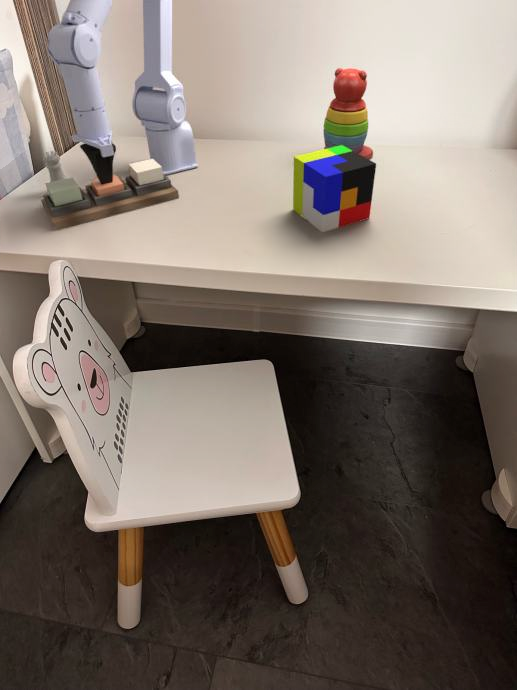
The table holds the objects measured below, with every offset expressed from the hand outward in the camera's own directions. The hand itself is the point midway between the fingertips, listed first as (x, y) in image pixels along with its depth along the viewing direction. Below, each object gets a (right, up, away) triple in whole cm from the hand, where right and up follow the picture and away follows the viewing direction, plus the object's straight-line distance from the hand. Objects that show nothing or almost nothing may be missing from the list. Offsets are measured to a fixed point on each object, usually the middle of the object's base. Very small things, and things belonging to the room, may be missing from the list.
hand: (106, 182), depth 95 cm
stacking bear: (+48, +11, +16) cm, 52 cm away
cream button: (+7, +2, +4) cm, 8 cm away
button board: (0, -3, +3) cm, 4 cm away
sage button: (-7, -4, -2) cm, 8 cm away
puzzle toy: (+42, -7, -3) cm, 43 cm away
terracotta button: (0, -2, +2) cm, 2 cm away
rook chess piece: (-11, 0, +7) cm, 13 cm away
